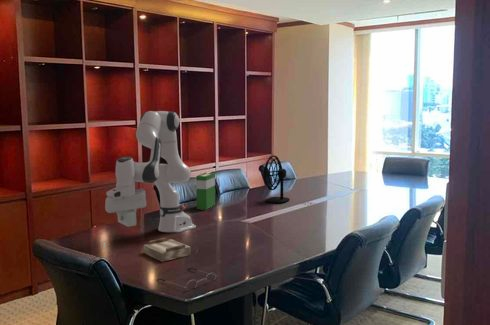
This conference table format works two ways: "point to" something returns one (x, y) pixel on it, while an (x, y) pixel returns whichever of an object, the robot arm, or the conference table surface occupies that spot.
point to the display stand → (166, 249)
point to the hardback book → (205, 190)
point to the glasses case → (128, 218)
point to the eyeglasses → (191, 280)
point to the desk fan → (281, 175)
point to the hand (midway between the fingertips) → (126, 219)
